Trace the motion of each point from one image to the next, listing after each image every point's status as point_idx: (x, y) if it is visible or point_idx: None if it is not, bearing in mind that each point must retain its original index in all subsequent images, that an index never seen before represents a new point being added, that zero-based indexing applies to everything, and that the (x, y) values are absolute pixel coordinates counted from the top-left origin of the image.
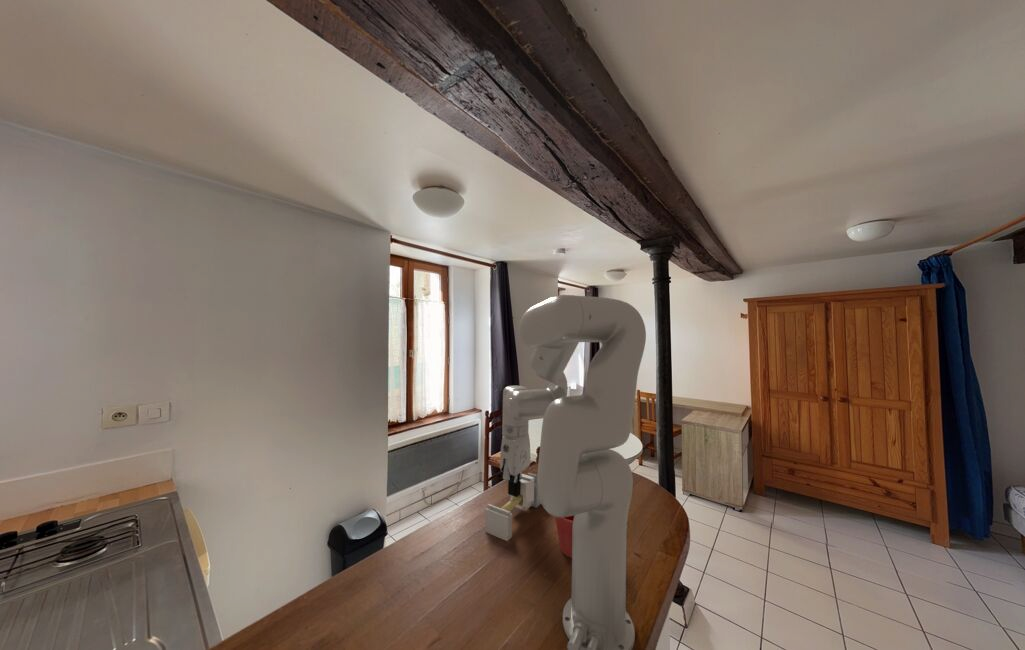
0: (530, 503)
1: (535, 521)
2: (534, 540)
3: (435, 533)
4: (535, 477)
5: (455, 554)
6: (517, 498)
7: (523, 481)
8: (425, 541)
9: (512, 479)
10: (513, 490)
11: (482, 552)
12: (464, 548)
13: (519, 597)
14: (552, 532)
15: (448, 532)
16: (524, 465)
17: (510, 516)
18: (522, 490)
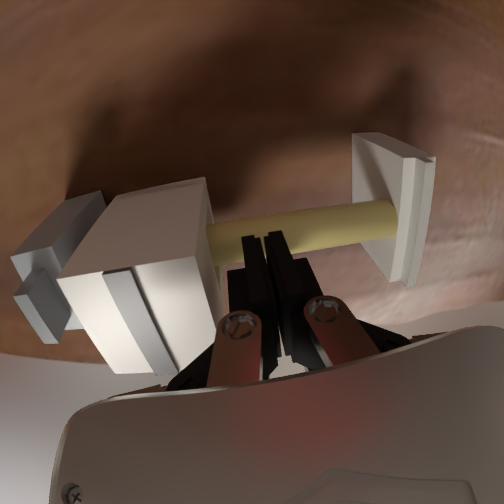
0: (149, 192)
1: (186, 120)
2: (309, 46)
3: (427, 309)
4: (31, 288)
5: (472, 220)
6: (240, 238)
7: (179, 295)
8: (453, 299)
9: (376, 333)
10: (312, 272)
11: (449, 169)
12: (452, 219)
13: (493, 15)
14: (204, 16)
15: (416, 295)
16: (278, 444)
17: (411, 155)
18: (205, 250)
